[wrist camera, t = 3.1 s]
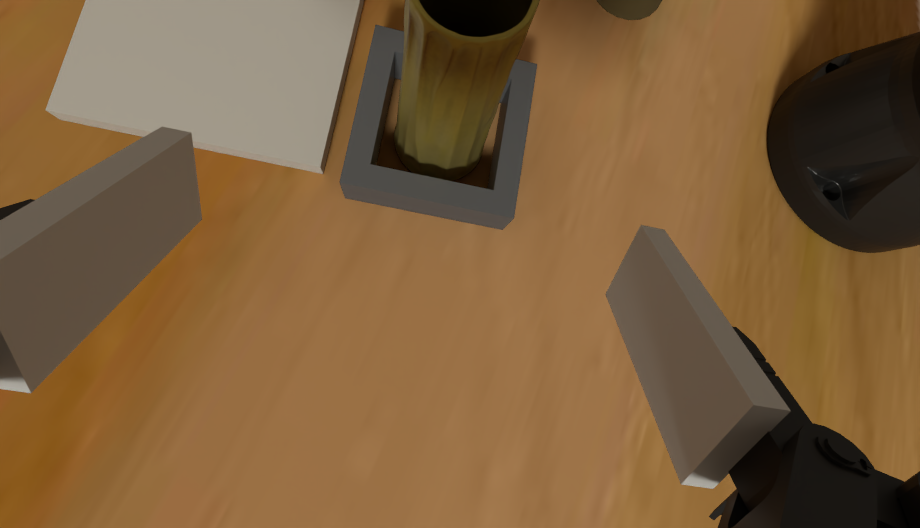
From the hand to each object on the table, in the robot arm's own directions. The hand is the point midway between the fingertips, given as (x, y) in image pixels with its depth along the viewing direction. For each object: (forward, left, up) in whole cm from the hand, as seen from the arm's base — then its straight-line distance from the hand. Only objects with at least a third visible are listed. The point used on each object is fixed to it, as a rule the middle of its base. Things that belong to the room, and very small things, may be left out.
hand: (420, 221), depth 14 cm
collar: (0, -10, -16) cm, 19 cm away
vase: (0, -10, -16) cm, 19 cm away
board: (+15, -14, -16) cm, 26 cm away
